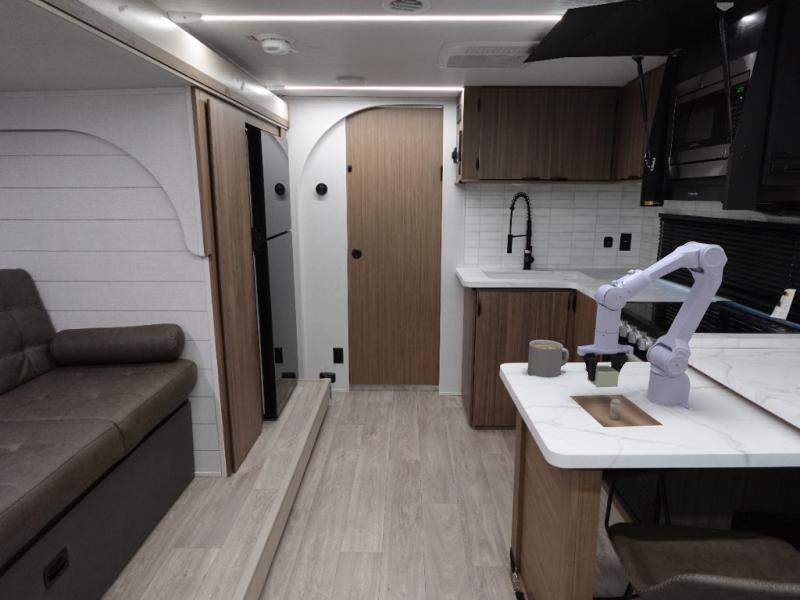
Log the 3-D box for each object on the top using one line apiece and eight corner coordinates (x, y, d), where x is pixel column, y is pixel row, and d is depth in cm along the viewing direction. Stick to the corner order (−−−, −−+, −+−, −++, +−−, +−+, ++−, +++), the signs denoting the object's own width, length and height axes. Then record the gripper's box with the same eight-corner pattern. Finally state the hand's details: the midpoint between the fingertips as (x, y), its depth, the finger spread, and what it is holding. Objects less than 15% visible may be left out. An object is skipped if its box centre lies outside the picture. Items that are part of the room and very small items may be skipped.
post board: (621, 397, 139) (623, 377, 138) (662, 428, 121) (665, 405, 119) (569, 399, 138) (571, 378, 136) (603, 431, 119) (605, 407, 118)
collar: (606, 379, 137) (608, 365, 136) (617, 386, 131) (618, 372, 130) (587, 379, 136) (588, 365, 135) (597, 387, 131) (598, 372, 130)
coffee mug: (535, 381, 151) (537, 349, 149) (522, 370, 161) (524, 340, 159) (576, 379, 153) (579, 348, 151) (561, 368, 163) (564, 339, 161)
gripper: (625, 326, 135) (620, 373, 138) (573, 327, 134) (569, 375, 137) (639, 333, 129) (634, 383, 131) (585, 334, 127) (581, 384, 130)
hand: (602, 379), depth 134 cm, fingers closed on collar, 6 cm apart
